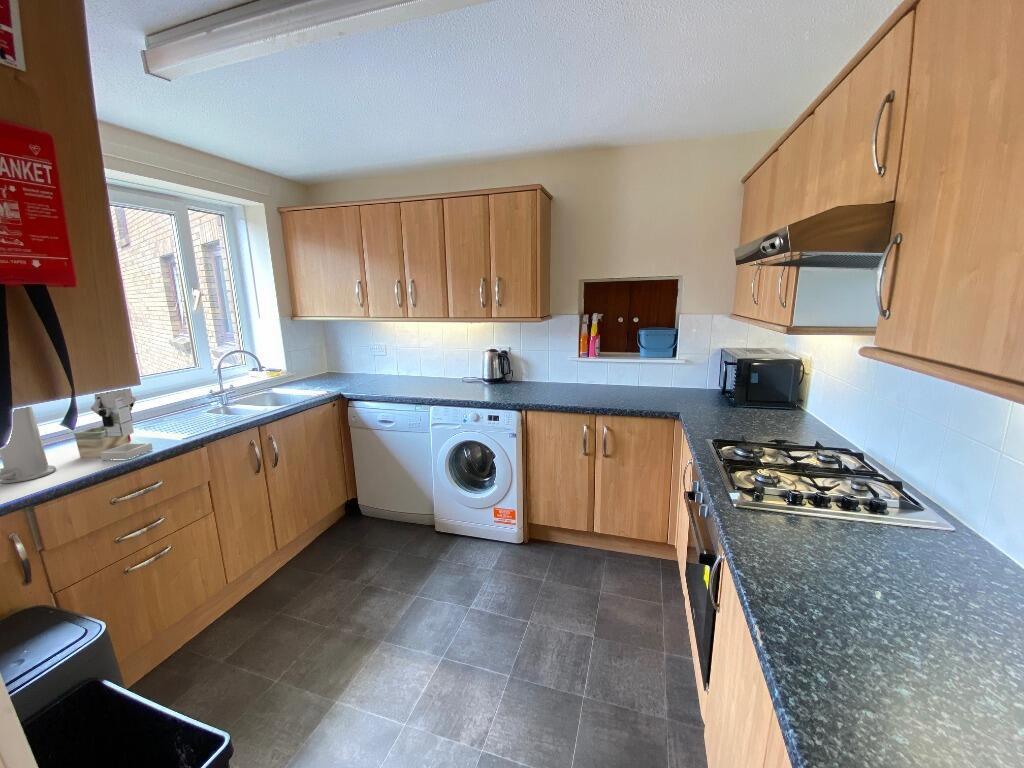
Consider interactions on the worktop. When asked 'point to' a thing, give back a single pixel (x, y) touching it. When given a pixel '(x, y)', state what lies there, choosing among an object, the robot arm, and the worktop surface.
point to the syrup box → (119, 420)
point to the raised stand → (97, 441)
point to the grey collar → (126, 451)
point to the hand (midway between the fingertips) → (118, 423)
